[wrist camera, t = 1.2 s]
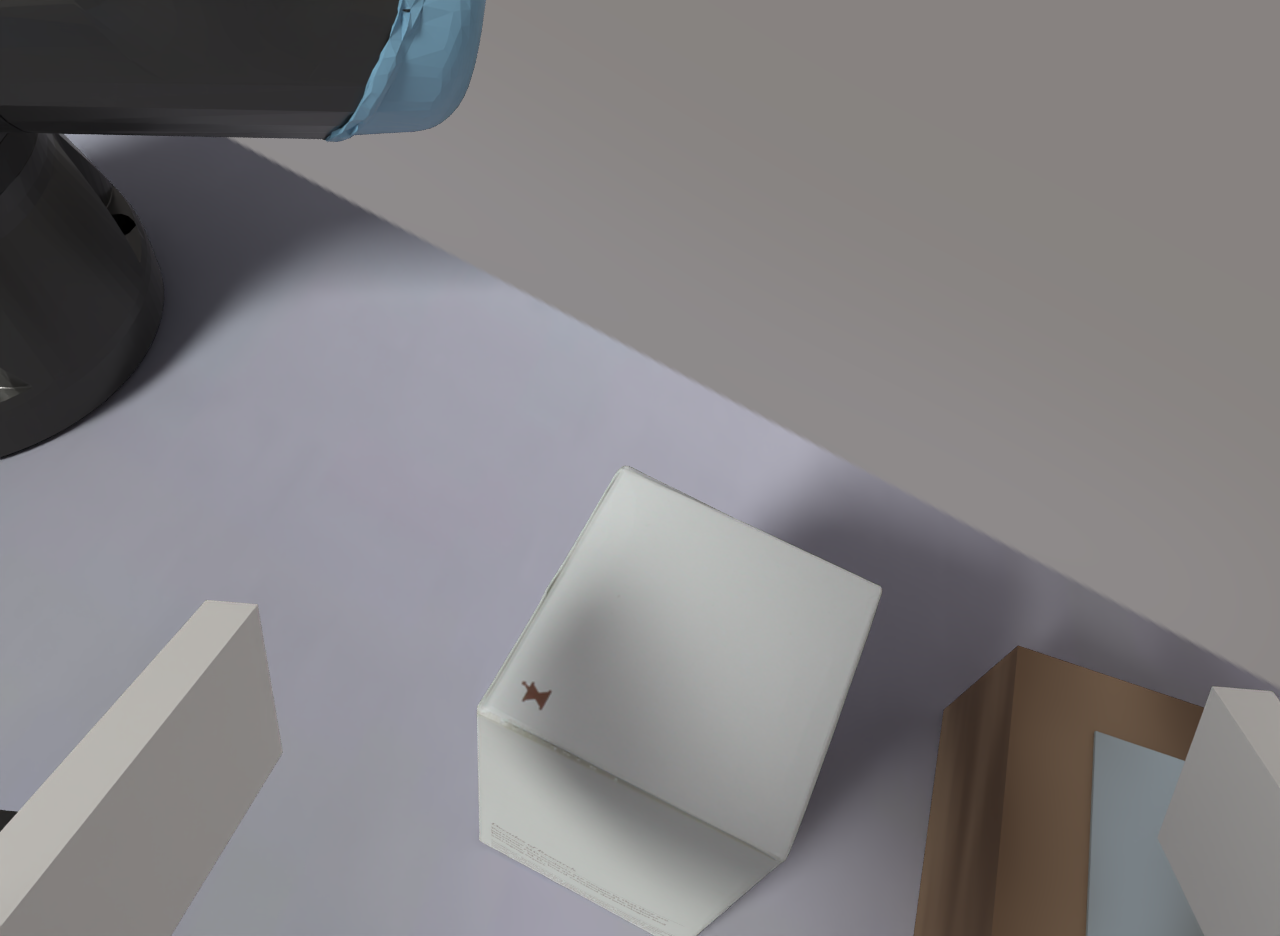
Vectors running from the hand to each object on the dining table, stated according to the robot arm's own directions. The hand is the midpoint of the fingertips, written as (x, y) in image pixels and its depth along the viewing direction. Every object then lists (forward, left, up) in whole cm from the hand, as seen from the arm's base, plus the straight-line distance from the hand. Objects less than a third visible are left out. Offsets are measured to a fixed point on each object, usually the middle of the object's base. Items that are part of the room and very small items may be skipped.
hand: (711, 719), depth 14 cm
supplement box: (0, +4, -20) cm, 20 cm away
